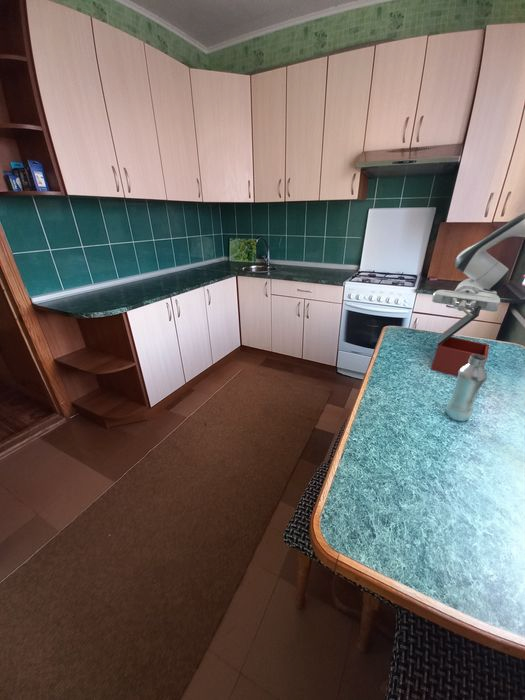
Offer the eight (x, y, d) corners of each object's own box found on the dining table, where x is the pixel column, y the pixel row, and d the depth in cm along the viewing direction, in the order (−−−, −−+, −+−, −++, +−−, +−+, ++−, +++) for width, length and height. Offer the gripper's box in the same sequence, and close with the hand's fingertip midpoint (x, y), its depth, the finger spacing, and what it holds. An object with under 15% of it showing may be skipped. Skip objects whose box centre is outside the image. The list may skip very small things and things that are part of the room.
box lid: (481, 305, 102) (467, 294, 103) (478, 315, 94) (463, 303, 95) (444, 334, 113) (431, 324, 114) (438, 345, 104) (425, 334, 106)
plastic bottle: (440, 416, 86) (460, 357, 77) (448, 406, 90) (468, 349, 80) (465, 427, 81) (489, 366, 72) (472, 416, 85) (496, 357, 76)
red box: (480, 368, 109) (489, 344, 105) (478, 382, 101) (487, 357, 97) (436, 357, 117) (443, 334, 113) (430, 369, 109) (437, 346, 105)
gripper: (437, 284, 114) (430, 292, 104) (502, 292, 102) (501, 301, 93) (433, 299, 116) (426, 308, 107) (496, 309, 105) (494, 320, 96)
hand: (462, 305), depth 100 cm, fingers closed on box lid, 2 cm apart
